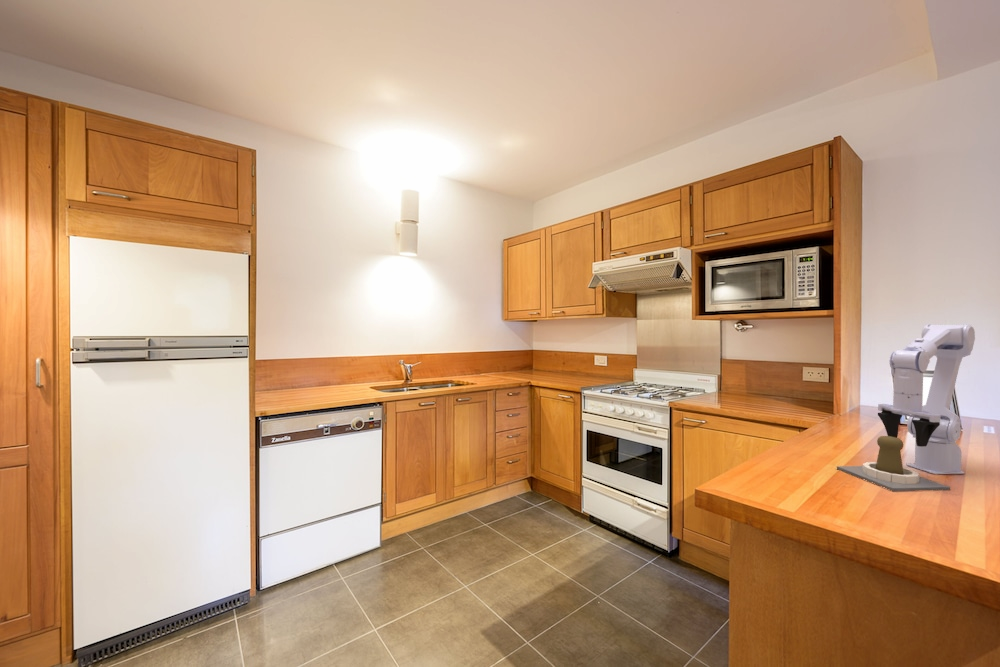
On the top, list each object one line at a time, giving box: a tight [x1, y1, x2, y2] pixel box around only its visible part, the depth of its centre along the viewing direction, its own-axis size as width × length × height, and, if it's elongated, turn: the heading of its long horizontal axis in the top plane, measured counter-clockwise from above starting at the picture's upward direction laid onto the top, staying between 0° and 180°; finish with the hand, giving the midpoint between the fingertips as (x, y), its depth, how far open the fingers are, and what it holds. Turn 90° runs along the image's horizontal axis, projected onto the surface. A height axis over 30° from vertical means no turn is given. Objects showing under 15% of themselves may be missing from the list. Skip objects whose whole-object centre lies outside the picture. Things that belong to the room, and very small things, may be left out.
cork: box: [875, 435, 904, 475], centre depth 112 cm, size 6×6×11 cm
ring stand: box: [836, 461, 951, 492], centre depth 112 cm, size 16×16×3 cm
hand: (906, 441), depth 112 cm, fingers open, 7 cm apart
